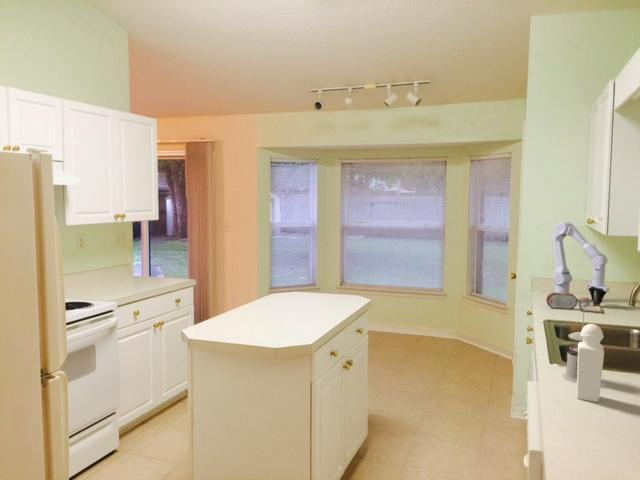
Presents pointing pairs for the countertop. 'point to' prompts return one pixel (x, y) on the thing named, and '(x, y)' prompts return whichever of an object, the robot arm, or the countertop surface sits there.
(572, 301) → the tin
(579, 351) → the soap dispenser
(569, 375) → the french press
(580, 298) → the button
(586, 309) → the drawing board
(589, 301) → the button base
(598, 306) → the cylinder
